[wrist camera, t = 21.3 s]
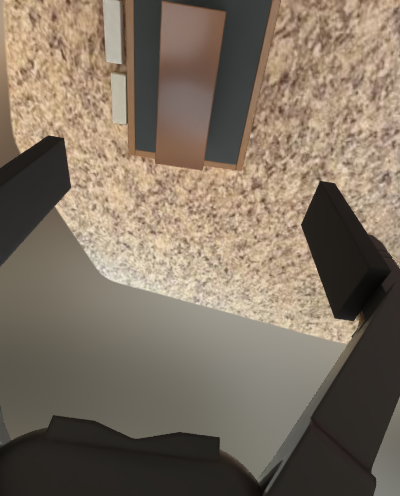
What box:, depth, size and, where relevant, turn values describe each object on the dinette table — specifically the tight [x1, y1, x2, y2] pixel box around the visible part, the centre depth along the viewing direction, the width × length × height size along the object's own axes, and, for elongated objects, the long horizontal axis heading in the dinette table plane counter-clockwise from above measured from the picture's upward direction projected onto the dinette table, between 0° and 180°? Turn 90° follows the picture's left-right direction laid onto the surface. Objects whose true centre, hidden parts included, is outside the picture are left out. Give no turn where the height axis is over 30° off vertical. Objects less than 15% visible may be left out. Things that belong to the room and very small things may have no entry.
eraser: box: [155, 1, 226, 171], centre depth 27 cm, size 12×5×8 cm, turn 173°
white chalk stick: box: [111, 72, 128, 125], centre depth 33 cm, size 5×1×2 cm
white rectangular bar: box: [103, 0, 124, 64], centre depth 29 cm, size 5×1×2 cm
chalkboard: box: [125, 0, 281, 172], centre depth 31 cm, size 18×14×1 cm
